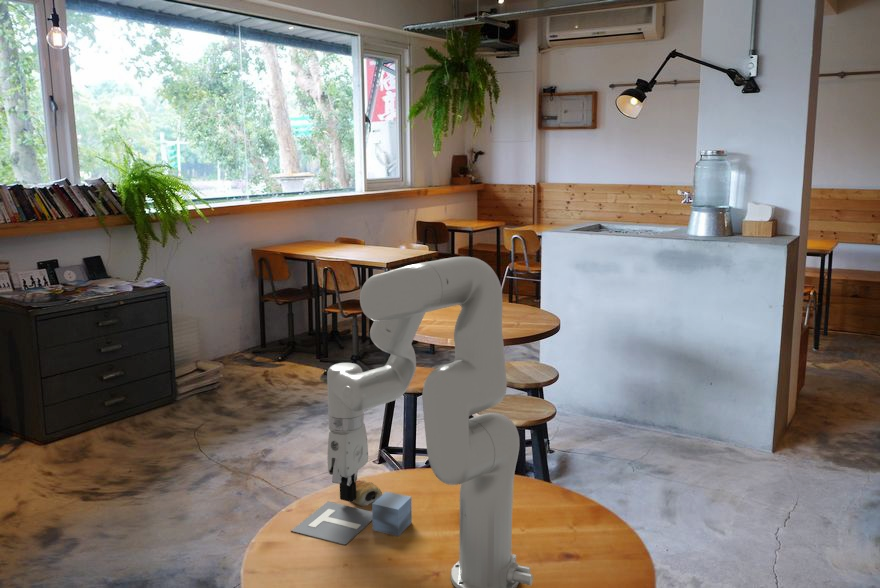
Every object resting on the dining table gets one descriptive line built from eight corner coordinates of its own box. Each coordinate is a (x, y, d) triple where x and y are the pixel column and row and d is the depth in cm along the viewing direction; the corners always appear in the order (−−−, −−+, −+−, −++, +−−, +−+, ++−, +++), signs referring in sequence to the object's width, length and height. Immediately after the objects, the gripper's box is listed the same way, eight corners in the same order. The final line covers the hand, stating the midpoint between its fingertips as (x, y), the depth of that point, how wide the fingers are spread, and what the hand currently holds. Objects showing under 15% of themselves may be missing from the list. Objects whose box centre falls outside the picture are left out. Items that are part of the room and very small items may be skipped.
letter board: (379, 513, 165) (379, 512, 164) (345, 545, 152) (345, 543, 152) (327, 502, 170) (327, 500, 170) (291, 531, 157) (291, 530, 157)
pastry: (338, 493, 175) (338, 477, 174) (364, 485, 179) (364, 470, 178) (359, 509, 167) (359, 492, 167) (385, 500, 171) (385, 484, 170)
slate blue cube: (411, 523, 161) (411, 496, 160) (398, 536, 156) (398, 509, 154) (386, 517, 163) (386, 491, 162) (372, 530, 158) (372, 503, 157)
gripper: (342, 435, 156) (345, 518, 160) (378, 411, 169) (379, 488, 173) (311, 429, 159) (314, 511, 163) (349, 406, 172) (350, 482, 176)
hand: (348, 499), depth 168 cm, fingers closed
